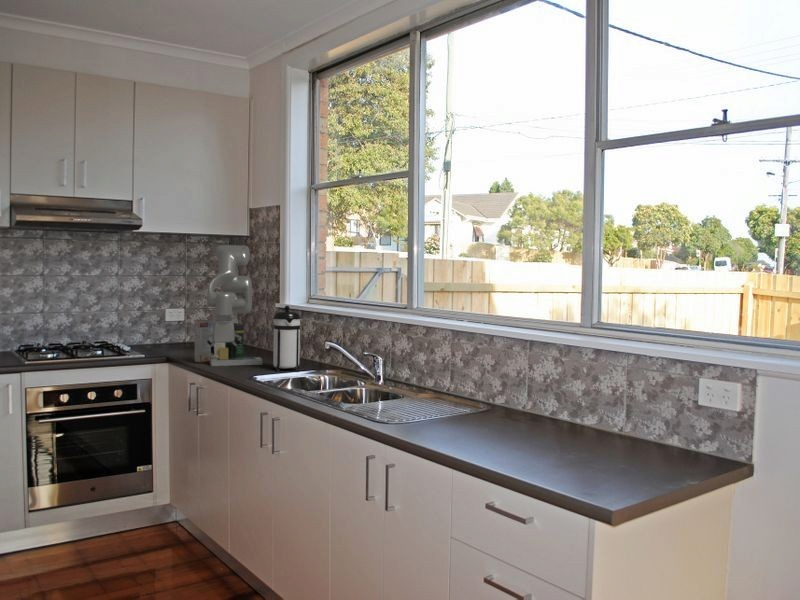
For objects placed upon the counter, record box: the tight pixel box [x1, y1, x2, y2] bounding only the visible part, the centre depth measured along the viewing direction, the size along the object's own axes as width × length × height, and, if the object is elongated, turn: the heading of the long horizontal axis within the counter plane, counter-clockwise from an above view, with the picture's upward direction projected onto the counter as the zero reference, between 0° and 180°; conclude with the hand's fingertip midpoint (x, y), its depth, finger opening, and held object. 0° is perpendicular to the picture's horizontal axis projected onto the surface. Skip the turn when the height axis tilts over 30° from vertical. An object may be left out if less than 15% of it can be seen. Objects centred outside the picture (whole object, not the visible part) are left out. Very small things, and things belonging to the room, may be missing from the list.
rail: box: [209, 356, 263, 367], centre depth 349 cm, size 8×24×3 cm, turn 110°
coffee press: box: [271, 305, 302, 371], centre depth 338 cm, size 17×16×30 cm
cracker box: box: [193, 318, 225, 363], centre depth 359 cm, size 14×6×21 cm, turn 135°
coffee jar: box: [226, 323, 245, 358], centre depth 369 cm, size 10×8×19 cm
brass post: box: [219, 347, 228, 360], centre depth 347 cm, size 4×4×8 cm
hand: (223, 354), depth 347 cm, fingers open, 9 cm apart
